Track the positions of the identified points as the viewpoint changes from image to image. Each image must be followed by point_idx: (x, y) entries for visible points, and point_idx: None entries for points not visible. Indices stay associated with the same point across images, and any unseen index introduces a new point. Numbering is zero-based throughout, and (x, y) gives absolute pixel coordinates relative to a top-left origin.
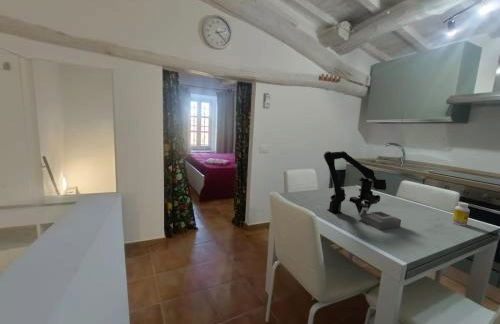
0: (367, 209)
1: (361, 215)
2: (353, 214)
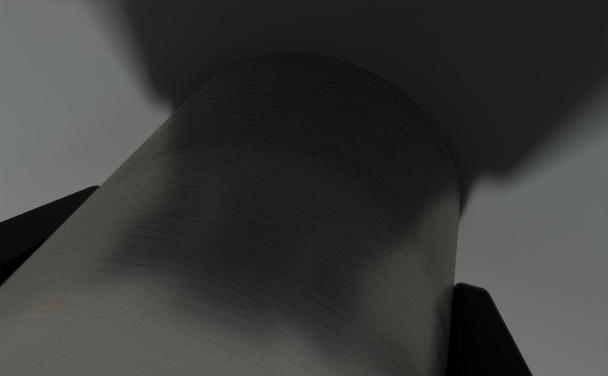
0: (75, 254)
1: (448, 176)
2: (567, 355)
